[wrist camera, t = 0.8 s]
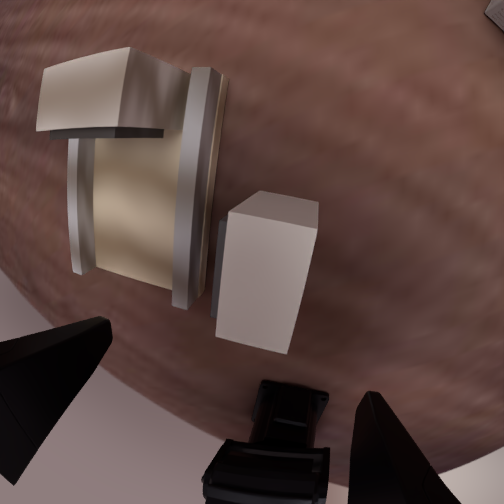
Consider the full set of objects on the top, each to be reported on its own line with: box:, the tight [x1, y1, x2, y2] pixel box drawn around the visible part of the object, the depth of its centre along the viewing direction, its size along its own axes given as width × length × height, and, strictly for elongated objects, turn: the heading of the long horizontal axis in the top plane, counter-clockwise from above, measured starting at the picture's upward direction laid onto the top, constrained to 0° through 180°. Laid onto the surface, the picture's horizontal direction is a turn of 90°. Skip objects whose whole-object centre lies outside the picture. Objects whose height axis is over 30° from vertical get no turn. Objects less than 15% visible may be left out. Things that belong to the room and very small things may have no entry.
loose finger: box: [210, 191, 319, 354], centre depth 17 cm, size 5×7×7 cm, turn 172°
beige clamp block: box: [36, 47, 229, 310], centre depth 17 cm, size 16×12×8 cm
